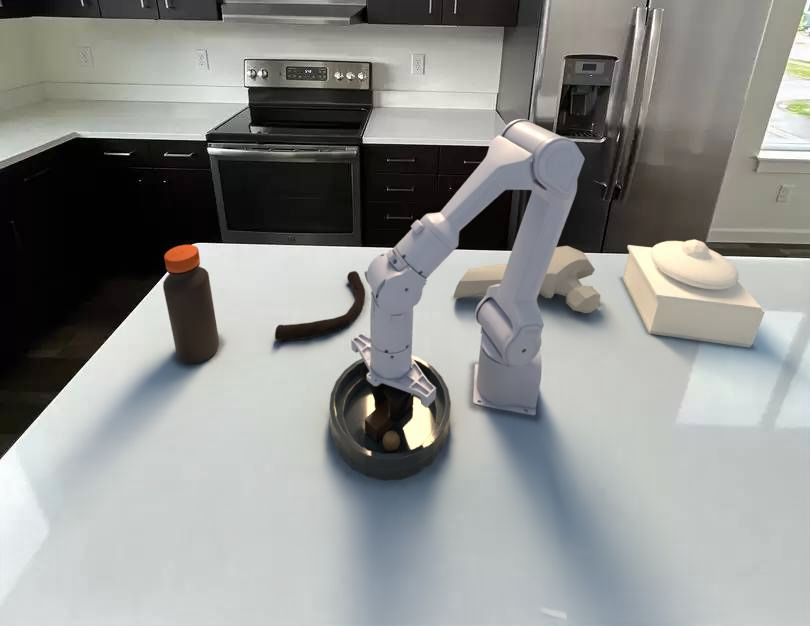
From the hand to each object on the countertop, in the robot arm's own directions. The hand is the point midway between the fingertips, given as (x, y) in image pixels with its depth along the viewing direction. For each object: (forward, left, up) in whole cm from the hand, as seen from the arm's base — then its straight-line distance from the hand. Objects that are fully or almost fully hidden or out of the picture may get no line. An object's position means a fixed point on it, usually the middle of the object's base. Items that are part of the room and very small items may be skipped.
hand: (390, 410), depth 63 cm
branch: (+18, -21, -2) cm, 28 cm away
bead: (0, +4, -1) cm, 4 cm away
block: (0, 0, -1) cm, 1 cm away
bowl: (0, 0, -2) cm, 2 cm away
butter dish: (-53, -37, -2) cm, 65 cm away
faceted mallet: (-21, -34, -2) cm, 40 cm away
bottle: (+36, -6, -2) cm, 37 cm away
